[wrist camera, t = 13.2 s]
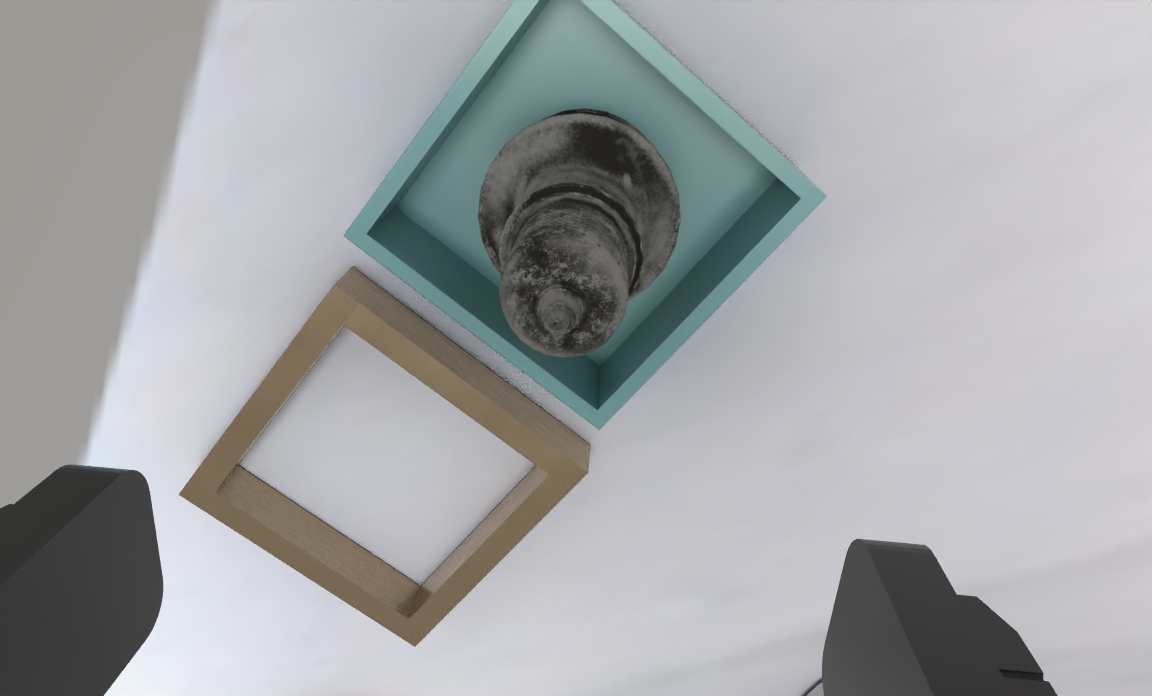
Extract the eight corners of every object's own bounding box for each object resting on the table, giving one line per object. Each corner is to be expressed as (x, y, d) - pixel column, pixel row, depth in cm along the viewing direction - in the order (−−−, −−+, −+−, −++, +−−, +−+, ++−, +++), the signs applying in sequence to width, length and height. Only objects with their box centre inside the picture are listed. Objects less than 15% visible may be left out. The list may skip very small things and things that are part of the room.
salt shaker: (523, 293, 28) (460, 480, 17) (472, 124, 26) (364, 218, 15) (690, 254, 28) (735, 425, 17) (652, 77, 25) (674, 139, 14)
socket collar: (590, 444, 31) (588, 472, 30) (425, 612, 35) (414, 646, 33) (352, 266, 29) (334, 284, 27) (203, 466, 33) (178, 494, 31)
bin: (799, 169, 27) (826, 196, 23) (602, 377, 30) (599, 429, 27) (563, -45, 25) (552, -52, 21) (380, 204, 28) (343, 235, 24)
